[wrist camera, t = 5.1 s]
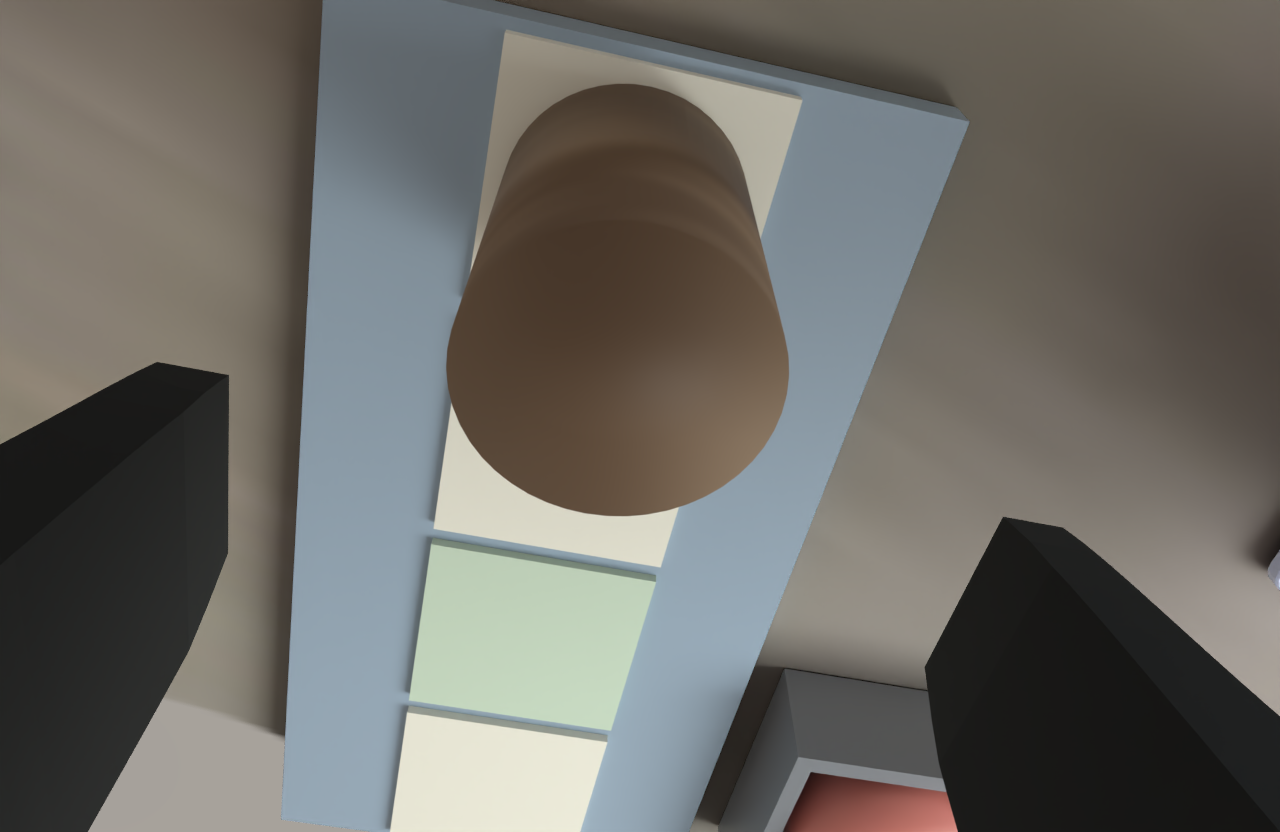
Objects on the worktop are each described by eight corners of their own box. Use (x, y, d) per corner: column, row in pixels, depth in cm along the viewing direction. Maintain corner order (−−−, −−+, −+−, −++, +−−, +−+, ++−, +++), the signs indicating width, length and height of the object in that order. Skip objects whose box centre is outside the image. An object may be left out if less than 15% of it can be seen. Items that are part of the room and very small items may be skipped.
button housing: (1026, 707, 24) (1062, 796, 22) (933, 857, 27) (958, 948, 25) (784, 668, 24) (798, 757, 22) (717, 826, 27) (724, 917, 25)
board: (956, 107, 17) (973, 125, 16) (672, 844, 27) (672, 879, 26) (337, -36, 16) (320, -24, 15) (290, 792, 26) (278, 826, 25)
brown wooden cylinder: (778, 115, 16) (835, 261, 11) (712, 338, 18) (737, 540, 13) (521, 57, 15) (469, 184, 11) (485, 293, 17) (428, 485, 13)
